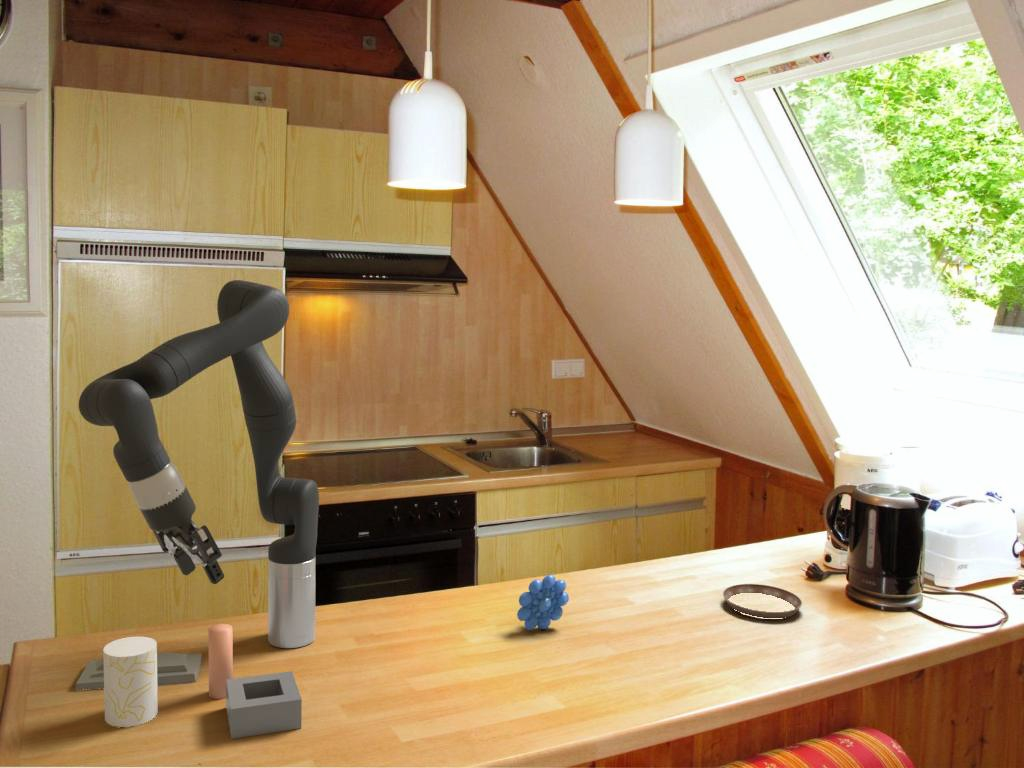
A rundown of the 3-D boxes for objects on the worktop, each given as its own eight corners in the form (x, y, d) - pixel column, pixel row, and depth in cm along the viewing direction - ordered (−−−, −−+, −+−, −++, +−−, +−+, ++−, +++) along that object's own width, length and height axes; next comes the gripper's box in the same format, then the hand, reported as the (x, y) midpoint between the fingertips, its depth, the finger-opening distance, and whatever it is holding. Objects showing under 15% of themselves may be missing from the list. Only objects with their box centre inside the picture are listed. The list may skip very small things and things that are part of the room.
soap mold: (89, 669, 168) (88, 651, 168) (202, 662, 173) (202, 644, 172) (75, 694, 158) (75, 675, 158) (196, 686, 163) (196, 667, 163)
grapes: (559, 619, 199) (561, 566, 197) (571, 631, 192) (574, 576, 191) (509, 624, 195) (511, 571, 193) (520, 637, 188) (522, 581, 187)
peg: (208, 690, 160) (207, 625, 159) (231, 687, 162) (231, 622, 160) (209, 700, 157) (209, 634, 155) (233, 697, 158) (233, 631, 157)
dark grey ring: (790, 630, 198) (791, 616, 197) (712, 612, 207) (712, 599, 206) (809, 606, 213) (810, 593, 213) (735, 590, 222) (735, 578, 221)
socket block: (226, 707, 154) (226, 679, 154) (291, 698, 158) (292, 671, 158) (231, 738, 144) (231, 709, 144) (301, 728, 148) (301, 699, 148)
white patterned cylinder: (104, 731, 145) (102, 659, 144) (105, 708, 153) (103, 640, 151) (158, 722, 149) (157, 652, 147) (156, 700, 156) (155, 634, 154)
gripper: (205, 485, 140) (246, 569, 146) (157, 476, 149) (198, 556, 155) (164, 513, 135) (209, 599, 141) (118, 502, 144) (162, 583, 150)
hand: (203, 576), depth 148 cm, fingers open, 8 cm apart
